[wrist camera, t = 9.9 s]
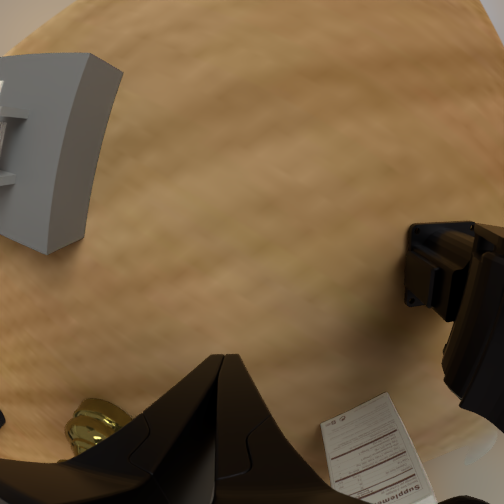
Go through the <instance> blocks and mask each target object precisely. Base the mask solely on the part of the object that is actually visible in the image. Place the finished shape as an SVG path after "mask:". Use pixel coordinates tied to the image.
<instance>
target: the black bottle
mask: <svg viewBox="0 0 504 504" xmlns="http://www.w3.org/2000/svg"><path fill="white" fill-rule="evenodd" d="M4 423H5V418H4V416H3V414H2V412H1V411H0V428H1V427H2V426H3V425H4Z"/></svg>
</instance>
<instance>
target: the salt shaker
mask: <svg viewBox="0 0 504 504" xmlns="http://www.w3.org/2000/svg"><path fill="white" fill-rule="evenodd" d="M130 421H132V419H131V418H130V417H129V416H128V415H127V414H126V413H125V412H124V411H122V410H121V409H120V408H118V407H117V406H115V405H113V404H111V403H109V402H106V401H104V400H100V399H86V400H84V401H83V402H82V403H81V404H80V406H79V407H78V409H77V410H76V411H75V412H74V413H73V418H72V419H70V420H69V421H68V422H67V424H66V425H65V435H66V438H67V440H68V442H69V444H70V445H71V449H72V450H73V453H74V457H75V456H77V455H79V454H80V453H82V452H84V451H86V450H87V449H89V448H91V447H92V446H94V445H96V444H97V443H99V442H101V441H102V440H104V439H106V438H107V437H109V436H110V435H112V434H113V433H115V432H117V431H118V430H120V429H121V428H122V427H124V426H125V425H126V424H128V423H129V422H130ZM64 461H67V460H59V461H58V462H57V463H59V462H64Z"/></svg>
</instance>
